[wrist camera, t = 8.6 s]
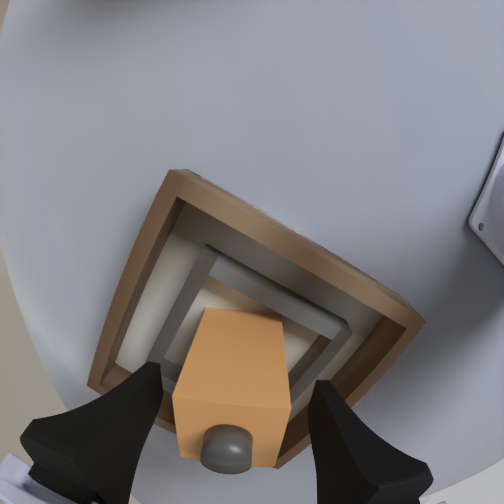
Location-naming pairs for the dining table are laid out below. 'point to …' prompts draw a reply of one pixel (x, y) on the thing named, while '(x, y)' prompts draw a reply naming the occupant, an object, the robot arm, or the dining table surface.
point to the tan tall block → (233, 392)
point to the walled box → (246, 301)
